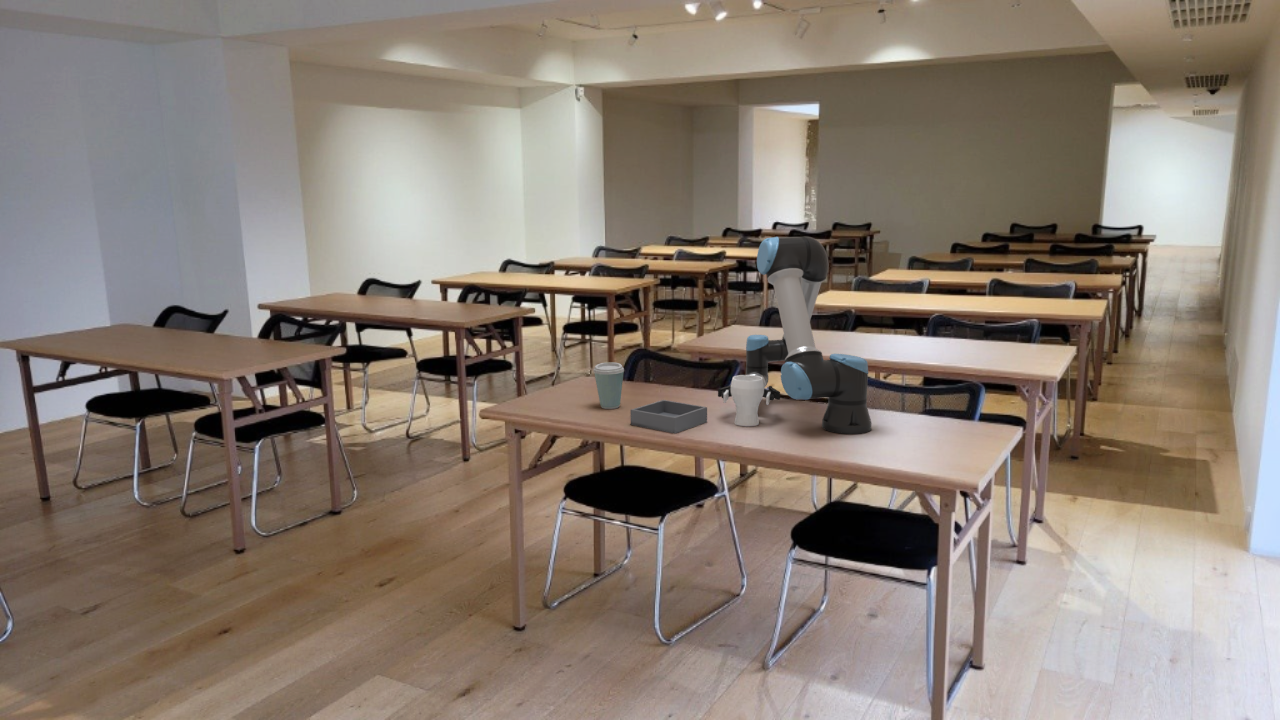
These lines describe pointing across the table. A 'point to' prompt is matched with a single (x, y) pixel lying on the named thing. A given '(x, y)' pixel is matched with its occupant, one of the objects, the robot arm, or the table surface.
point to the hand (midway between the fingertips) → (745, 399)
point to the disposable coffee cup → (609, 384)
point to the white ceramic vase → (747, 398)
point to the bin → (668, 416)
